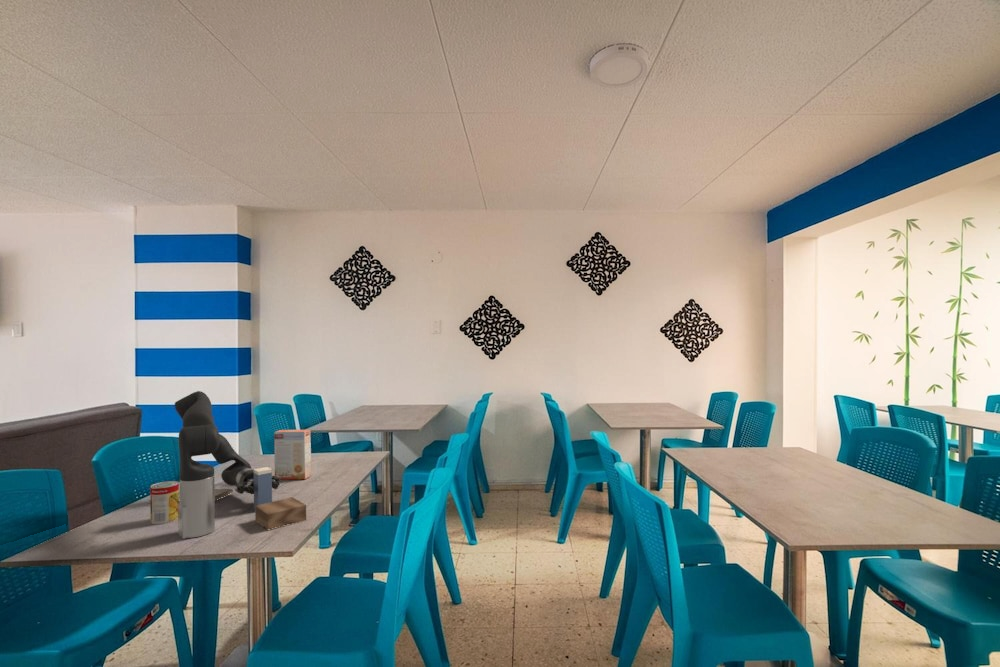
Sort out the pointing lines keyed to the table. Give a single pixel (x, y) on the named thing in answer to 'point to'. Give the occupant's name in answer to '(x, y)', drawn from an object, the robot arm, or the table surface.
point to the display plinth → (280, 513)
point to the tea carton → (262, 486)
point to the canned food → (164, 502)
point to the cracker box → (292, 454)
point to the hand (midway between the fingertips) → (264, 488)
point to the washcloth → (220, 493)
